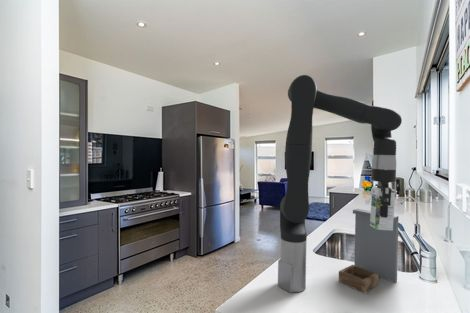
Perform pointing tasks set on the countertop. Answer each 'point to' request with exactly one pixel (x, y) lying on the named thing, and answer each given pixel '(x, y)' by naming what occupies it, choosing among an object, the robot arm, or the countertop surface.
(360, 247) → the upright grey panel
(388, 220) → the syrup box
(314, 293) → the countertop surface
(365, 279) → the socket
